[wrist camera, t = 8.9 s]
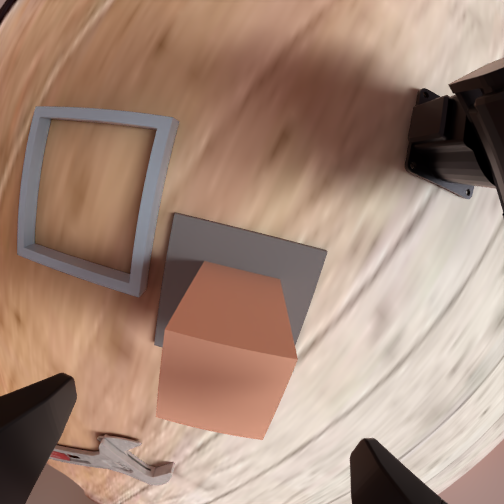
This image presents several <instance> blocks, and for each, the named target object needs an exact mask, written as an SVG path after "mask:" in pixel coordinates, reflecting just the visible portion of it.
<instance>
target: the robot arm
mask: <svg viewBox="0 0 504 504" xmlns="http://www.w3.org/2000/svg"><path fill="white" fill-rule="evenodd" d="M449 87H450V89H451V90H452V92H453V93H455V94H456V95H454V96H451V97H449V96H448V95H445V96H442V97H440V96H439V95H437V94H435V93H433V92H431V91H430V90H428V89H425V88H423V89H420V90H419V91H418V95H417V101H416V106H415V107H414V108H413V113H412V119H411V125H410V130H409V135H408V139H409V146H408V151H407V156H406V160H405V169H406V170H407V171H408V172H409V173H412V174H414V175H416V176H419V177H421V178H423V179H425V180H427V181H430V182H432V183H434V184H436V185H438V186H440V187H442V188H444V189H446V190H449V191H451V192H453V193H455V194H457V195H459V196H460V197H462V198H465V199H470V198H471V197H472V194H473V189H474V186H481V187H489V188H496V189H497V192H498V195H499V199H500V202H501V206H502V209H503V218H504V58H502V59H499V60H497V61H494V62H492V63H489V64H487V65H485V66H483V67H481V68H479V69H477V70H475V71H473V72H471V73H469V74H467V75H465V76H464V77H462V78H460V79H458V80H456V81H454V82H452V83H450V84H449ZM423 93H424V94H425V95H426V98H425V97H424V95H423ZM411 162H412V163H413V164H414V167H413V169H412V168H411V166H410V164H411ZM466 190H467V195H466ZM76 399H77V394H76V388H75V381H74V379H73V377H72V376H69V375H67V374H65V373H59V374H56V375H54V376H52V377H49V378H47V379H44V380H42V381H39V382H37V383H34V384H31V385H29V386H26V387H24V388H21V389H19V390H16V391H14V392H11V393H8V394H6V395H3V396H0V504H25V503H26V501H27V499H28V497H29V495H30V493H31V491H32V489H33V487H34V485H35V483H36V481H37V480H38V478H39V476H40V474H41V472H42V470H43V468H44V466H45V465H46V463H47V461H48V459H49V457H50V455H51V454H52V452H53V450H54V448H55V447H56V445H57V443H58V441H59V439H60V437H61V435H62V433H63V430H64V428H65V426H66V423H67V421H68V419H69V416H70V414H71V412H72V409H73V407H74V405H75V403H76ZM350 475H351V499H352V504H448V503H446V502H445V501H444V500H443V499H442V500H441V498H440V497H439V496H438V495H437V494H436V493H435V492H433V491H432V490H431V489H430V488H429V487H428V486H427V485H425V484H424V483H423V482H422V481H421V480H420V479H419V478H417V477H416V476H415V475H414V474H413V473H412V472H411V471H410V470H409V469H407V468H406V467H405V466H404V465H403V464H402V463H401V462H400V461H399V460H398V459H396V458H395V457H394V456H393V455H392V454H391V453H390V452H389V451H388V450H387V449H386V448H385V447H384V446H382V445H381V444H380V443H379V442H378V441H377V440H376V439H374V438H364V439H362V440H361V441H360V442H359V444H358V445H357V446H356V448H355V449H354V450H353V452H352V453H351V456H350Z"/></svg>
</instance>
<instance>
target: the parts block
mask: <svg viewBox="0 0 504 504" xmlns="http://www.w3.org/2000/svg"><path fill="white" fill-rule="evenodd" d="M297 360H298V359H297V354H296V349H295V345H294V340H293V335H292V331H291V326H290V322H289V317H288V313H287V308H286V304H285V299H284V295H283V290H282V286H281V281H280V279H277V278H273V277H269V276H264V275H260V274H256V273H252V272H248V271H244V270H239V269H235V268H231V267H227V266H223V265H219V264H215V263H211V262H207V261H204V262H203V264H202V266H201V267H200V269H199V271H198V273H197V274H196V276H195V278H194V279H193V281H192V283H191V285H190V286H189V288H188V290H187V291H186V293H185V295H184V297H183V298H182V300H181V302H180V304H179V305H178V307H177V309H176V311H175V312H174V314H173V316H172V318H171V319H170V321H169V323H168V325H167V326H166V328H165V332H164V340H163V348H162V357H161V366H160V376H159V387H158V398H157V411H156V417H158V418H162V419H165V420H169V421H172V422H176V423H180V424H184V425H188V426H192V427H196V428H200V429H204V430H209V431H214V432H219V433H224V434H229V435H234V436H240V437H246V438H253V439H260V440H263V438H264V436H265V434H266V432H267V429H268V427H269V425H270V423H271V421H272V419H273V416H274V414H275V412H276V410H277V407H278V405H279V403H280V401H281V398H282V396H283V394H284V391H285V389H286V387H287V384H288V382H289V379H290V377H291V375H292V372H293V370H294V367H295V365H296V362H297Z"/></svg>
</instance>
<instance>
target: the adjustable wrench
mask: <svg viewBox="0 0 504 504" xmlns="http://www.w3.org/2000/svg"><path fill="white" fill-rule="evenodd" d="M97 440H99V441H100V442H101V443H100V445H99V451H96V452H92V451H86V450H79V449H73V448H68V447H63V446H58V445H56V447H55V448H54V450H53V452H52V454H51V455H50V457H49V459H53V460H57V461H61V462H66V463H71V464H77V465H83V466H89V467H96V468H104V469H110V470H113V471H117V472H120V473H123V474H126V475H129V476H131V477H133V478H136V479H138V480H140V481H143V482H145V483H147V484H150V485H163V484H166V483H167V482H169V480H170V479H171V477H172V474H173V470H174V466H175V463H174V462H173V463H169V464H166V465H163V466H160V467H153V466H150V465H148V464H146V463H145V462H143V461H142V460H140V459H139V458H138V457H136V456H135V455H133V454H132V453H131V452H129V451H128V450H129V449H132V448H135V447H137V446H140V445H141V444H142V443H141V442H138V441H134V440H130V439H126V438H122V437H115V436H109V435H107V434H105V435H104V436H98V438H97ZM71 455H74V456H78V457H79V458H80V459H79V458H72V456H71Z"/></svg>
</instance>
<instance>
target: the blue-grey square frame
mask: <svg viewBox="0 0 504 504" xmlns="http://www.w3.org/2000/svg"><path fill="white" fill-rule="evenodd" d="M51 119H56V120H72V121H85V122H96V123H106V124H115V125H123V126H131V127H138V128H145V129H152V130H157V132H156V135H155V139H154V143H153V148H152V152H151V156H150V160H149V165H148V169H147V174H146V179H145V184H144V189H143V194H142V199H141V204H140V210H139V216H138V222H137V228H136V235H135V241H134V248H133V256H132V264H131V272H130V274H128V273H125V272H122V271H118V270H115V269H112V268H108V267H105V266H102V265H99V264H95V263H92V262H89V261H86V260H83V259H80V258H77V257H74V256H70V255H67V254H64V253H61V252H58V251H56V250H53V249H50V248H47V247H44V246H41V245H38V244H35V223H36V209H37V199H38V190H39V182H40V174H41V168H42V162H43V156H44V150H45V145H46V140H47V136H48V131H49V127H50V122H51ZM178 125H179V121H178V120H176V119H175V118H173V117H167V116H160V115H153V114H146V113H137V112H129V111H119V110H108V109H95V108H78V107H35V111H34V115H33V119H32V123H31V128H30V132H29V137H28V142H27V147H26V153H25V159H24V165H23V172H22V180H21V189H20V199H19V212H18V234H17V255H19V256H22V257H24V258H27V259H29V260H32V261H34V262H37V263H39V264H42V265H45V266H47V267H50V268H53V269H55V270H58V271H61V272H63V273H66V274H69V275H72V276H75V277H77V278H80V279H83V280H86V281H89V282H92V283H95V284H98V285H101V286H104V287H107V288H110V289H113V290H116V291H119V292H123V293H126V294H129V295H132V296H135V297H140V296H141V295H142V294H143V293H144V291H145V290H146V288H147V280H148V273H149V266H150V259H151V253H152V246H153V240H154V234H155V228H156V223H157V217H158V212H159V207H160V202H161V197H162V192H163V187H164V182H165V178H166V173H167V169H168V165H169V160H170V156H171V152H172V148H173V144H174V140H175V136H176V132H177V129H178Z"/></svg>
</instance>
